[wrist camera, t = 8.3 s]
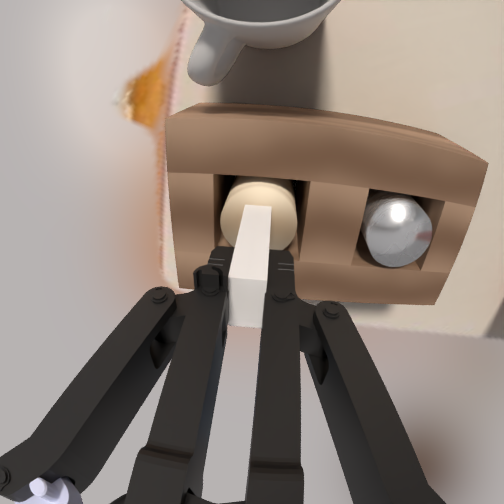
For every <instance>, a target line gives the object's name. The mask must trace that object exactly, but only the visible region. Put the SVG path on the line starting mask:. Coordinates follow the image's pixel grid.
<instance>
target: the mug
mask: <svg viewBox="0 0 504 504" xmlns="http://www.w3.org/2000/svg"><path fill="white" fill-rule="evenodd" d="M181 1H182V2H183V3H184V4H185V5H186V6H187V7H188V8H190V9H191V10H192V11H193V12H194V13H195V14H196V15H197V16H198V17H200V18H201V19H202V20H203V21H204V23H205V26H204V28H203V31H202V33H201V35H200V37H199V39H198V41H197V43H196V45H195V47H194V49H193V51H192V54H191V56H190V59H189V62H188V68H187V70H188V75H189V77H190V78H191V79H192V80H193V81H194V82H196V83H198V84H200V85H203V86H213V85H216V84H218V83H219V82H220V81H222V80H223V79H224V77H225V76H226V75H227V73H228V72H229V71H230V69H231V67H232V66H233V64H234V62H235V61H236V59H237V57H238V55H239V54H240V52H241V50H242V49H243V47H244V46H245V45H247V46H250V47H254V48H260V49H278V48H284V47H288V46H291V45H294V44H296V43H298V42H300V41H302V40H304V39H305V38H307V37H308V36H310V35H311V34H312V33H313V32H314V31H315V30H316V29H317V27H318V26H319V25H320V24H321V22H322V21H323V20H324V19H325V17H326V16H327V15H328V14H329V13H330V12H331V11H332V10H333V8H334V7H335V6H336V5H337V4H338V3H339V2H340V1H341V0H181Z"/></svg>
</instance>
